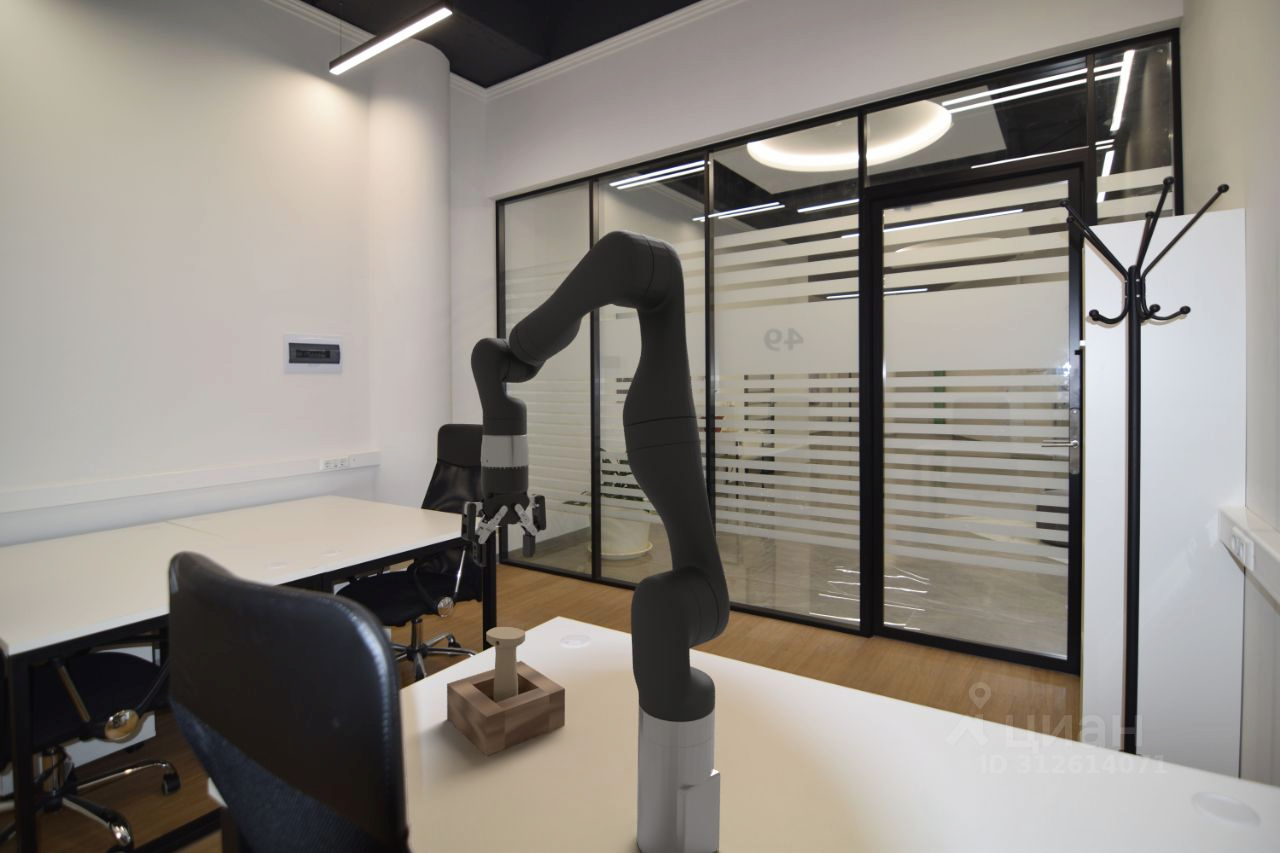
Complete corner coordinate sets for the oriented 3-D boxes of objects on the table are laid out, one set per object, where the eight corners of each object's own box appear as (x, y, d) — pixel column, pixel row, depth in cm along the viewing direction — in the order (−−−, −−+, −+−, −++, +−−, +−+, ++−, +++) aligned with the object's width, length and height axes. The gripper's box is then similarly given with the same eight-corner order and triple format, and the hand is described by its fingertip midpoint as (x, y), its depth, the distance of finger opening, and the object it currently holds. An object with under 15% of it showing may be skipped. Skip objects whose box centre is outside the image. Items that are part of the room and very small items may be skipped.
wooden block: (564, 724, 103) (564, 688, 103) (486, 755, 94) (486, 716, 93) (521, 693, 113) (521, 660, 113) (447, 718, 104) (447, 683, 104)
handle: (514, 733, 100) (514, 641, 99) (480, 724, 102) (480, 634, 102) (530, 718, 105) (530, 630, 104) (498, 711, 107) (498, 624, 106)
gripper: (474, 467, 94) (475, 574, 95) (554, 461, 103) (554, 558, 104) (453, 463, 100) (454, 564, 100) (531, 458, 109) (531, 550, 110)
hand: (505, 561), depth 102 cm, fingers open, 8 cm apart
